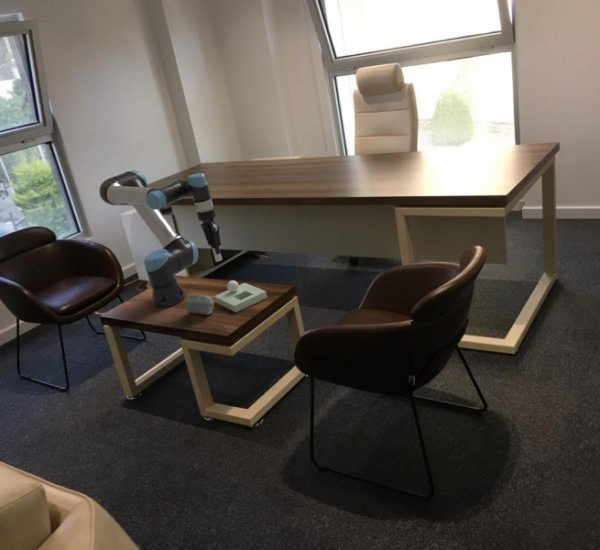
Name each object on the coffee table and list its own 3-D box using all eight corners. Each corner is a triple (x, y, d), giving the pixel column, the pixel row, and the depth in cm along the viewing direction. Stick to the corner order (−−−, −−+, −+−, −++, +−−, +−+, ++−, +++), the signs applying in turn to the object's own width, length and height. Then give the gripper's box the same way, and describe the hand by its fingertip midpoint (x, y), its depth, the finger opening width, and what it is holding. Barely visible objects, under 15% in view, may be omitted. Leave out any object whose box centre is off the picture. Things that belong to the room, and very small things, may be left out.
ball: (226, 292, 262) (223, 282, 261) (236, 288, 265) (233, 277, 263) (232, 294, 258) (229, 284, 257) (241, 290, 261) (239, 280, 259)
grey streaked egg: (177, 310, 254) (184, 288, 252) (193, 310, 261) (199, 289, 260) (199, 322, 246) (206, 299, 245) (215, 321, 254) (221, 299, 252)
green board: (215, 302, 262) (214, 296, 261) (246, 288, 270) (244, 282, 269) (236, 312, 248) (234, 306, 247) (267, 297, 256) (265, 291, 254)
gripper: (190, 211, 257) (205, 261, 266) (204, 214, 247) (218, 266, 255) (205, 205, 261) (219, 255, 270) (219, 208, 251) (233, 259, 259)
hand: (219, 260), depth 262 cm, fingers closed
